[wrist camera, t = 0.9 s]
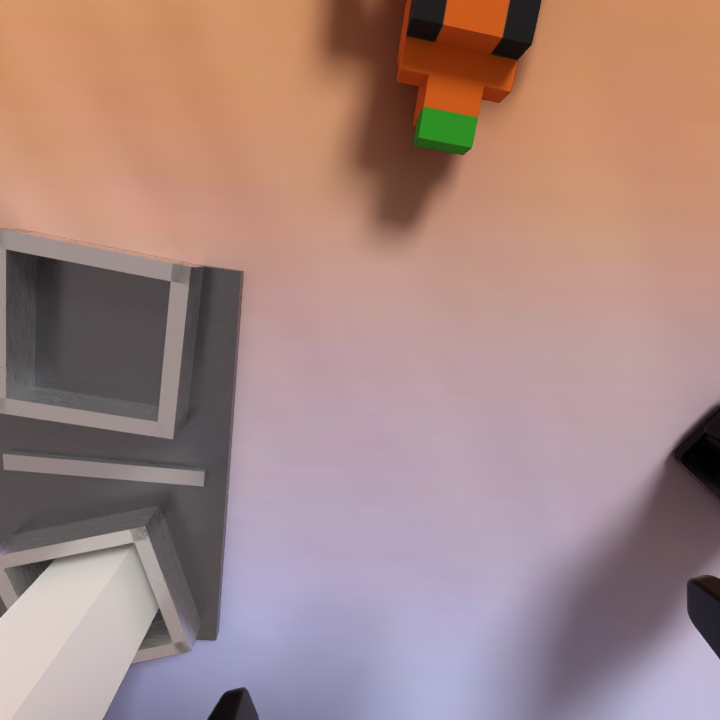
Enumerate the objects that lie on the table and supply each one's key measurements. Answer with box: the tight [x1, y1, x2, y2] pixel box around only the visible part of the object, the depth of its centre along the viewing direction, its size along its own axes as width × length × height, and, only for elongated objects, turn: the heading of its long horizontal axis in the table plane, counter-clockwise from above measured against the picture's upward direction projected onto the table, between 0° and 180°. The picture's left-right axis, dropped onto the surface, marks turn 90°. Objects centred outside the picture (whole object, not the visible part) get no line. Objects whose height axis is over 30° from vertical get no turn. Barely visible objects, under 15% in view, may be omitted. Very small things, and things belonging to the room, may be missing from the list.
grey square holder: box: [0, 228, 204, 439], centre depth 17 cm, size 7×7×2 cm
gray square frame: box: [0, 505, 201, 664], centre depth 20 cm, size 7×7×2 cm
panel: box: [0, 255, 244, 640], centre depth 19 cm, size 20×11×1 cm, turn 172°
